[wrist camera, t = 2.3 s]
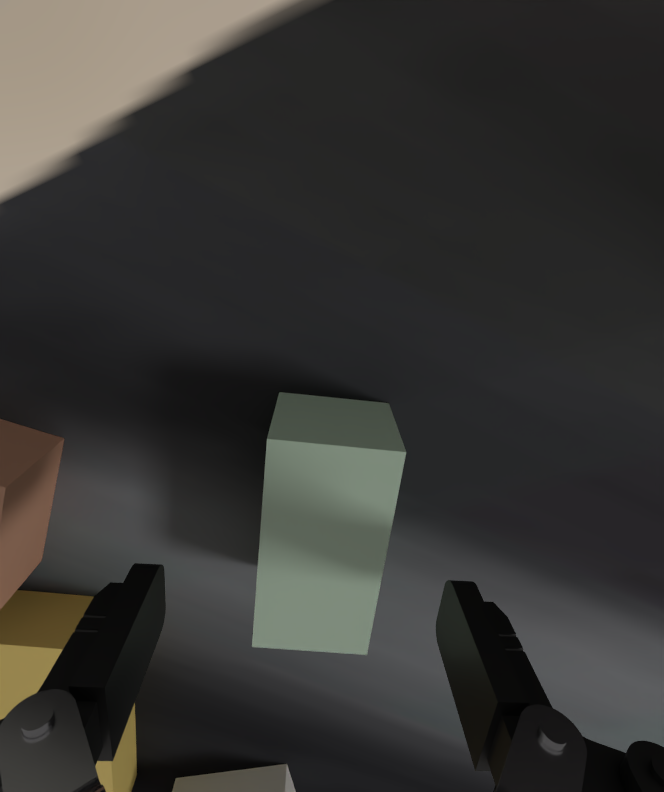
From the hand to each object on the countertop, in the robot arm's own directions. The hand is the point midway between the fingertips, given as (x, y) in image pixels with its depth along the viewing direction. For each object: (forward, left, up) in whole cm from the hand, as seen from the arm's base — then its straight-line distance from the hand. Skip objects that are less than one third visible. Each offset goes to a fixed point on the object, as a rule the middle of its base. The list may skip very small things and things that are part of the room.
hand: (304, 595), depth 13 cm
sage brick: (-1, 0, -6) cm, 6 cm away
